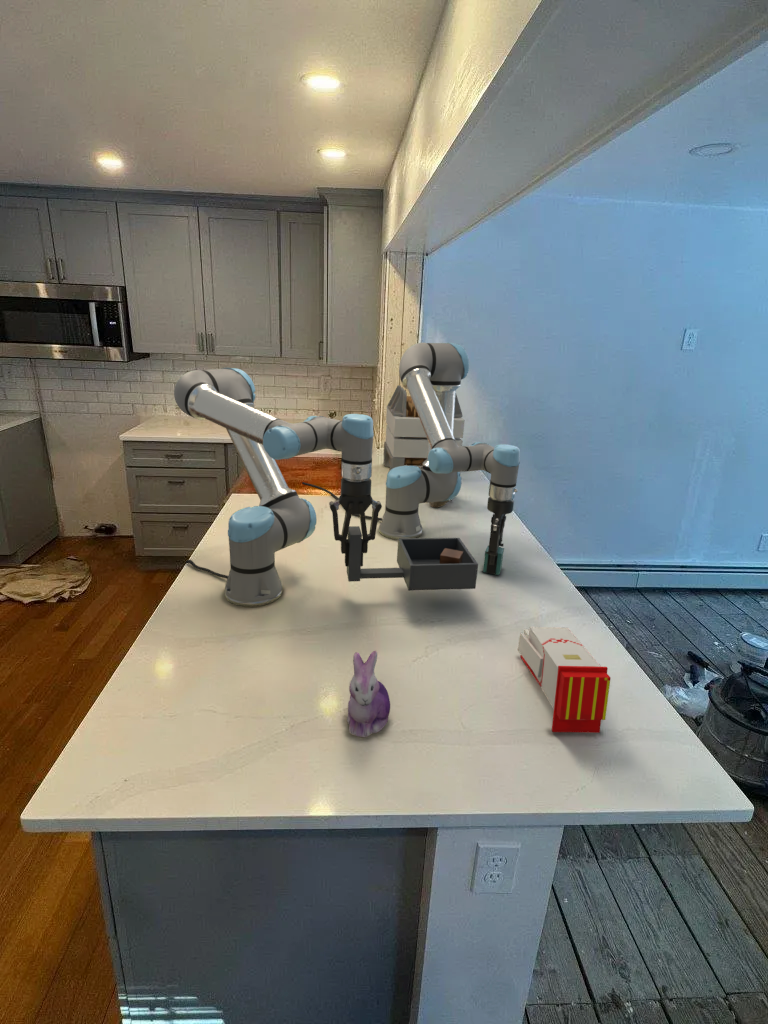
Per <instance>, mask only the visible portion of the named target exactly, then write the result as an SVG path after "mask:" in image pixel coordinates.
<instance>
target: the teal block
mask: <svg viewBox="0 0 768 1024" xmlns="http://www.w3.org/2000/svg"><path fill="white" fill-rule="evenodd" d="M488 549H489V544H487V547H486V549H485V551H484V559H483V566H482V567H483V568H482V572H483V573H486V571H487V562H488V554H486V552H487V551H488ZM504 553H505V547H502V546H499V547H498V558H497V565H496V573H495V574H494V575H497V576H499V575H500V574H501V572H502V568H503V563H504V561H503V560H504Z"/></svg>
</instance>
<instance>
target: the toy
mask: <svg viewBox="0 0 768 1024" xmlns="http://www.w3.org/2000/svg"><path fill="white" fill-rule="evenodd" d="M518 638H519V639H518V646H517V651H518V653H519V654H520V659H521V660H522V662H523V663H524V665H525V666H526V668H527V669H528V670H529V672H530V673H531V675H532V676H533V678H534V679H535V681H536V683H537V684H538V685H539V687H541V691H542V692H543V694H544V695H545V697H546V698H547V701H548V702H549V704H550V705H551V707H552V709H553V714H552V724H551V732H552V733H586V734H587V733H593V734H595V733H597V734H600V732H601V724H602V721H606V719H607V711H608V710H607V709H608V701H609V694H610V686H611V676H610V675H609V674H608V669H609V668H608V666H601V665H600V663H599V662H598V661H597V660H596V658H594V656H593V655H592V654H591V652H589V651H588V649H587V648H586V647H585V646H584V644H583V643H582V642H581V640H579V639H578V637H577V636H576V635H575V633H573V631H572V630H571V629H570V628H569V627H557V626H556V627H555V626H554V627H553V626H529V628H524V629H523V632H520V633H519V637H518Z"/></svg>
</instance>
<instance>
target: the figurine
mask: <svg viewBox="0 0 768 1024" xmlns="http://www.w3.org/2000/svg"><path fill="white" fill-rule="evenodd" d="M377 660H378V651H377V650H373V651H372V652H371V653H369V656H368V657H367V660H366V661H365V662H364V660H363V658H362V657H361V655H360V653H359V652H357V651H355V652H354V654H353V659H352V663H353V675H352V677H351V680H350V682H349V686H348V687H349V688H348V690H349V694H350V696H349V700H348V703H347V717H346V721H347V725H348V732H349V734H351V735H352V736H357V737H359V738H360V737H361V738H367V737H369V736H371V735H372V734H377V733H380V732H381V731H382V730H383V728H384V727H385V726H386V725H387V723H388V721H389V716H390V712H391V700H390V695H389V691H388V689H387V688H386V687H385V685H384V684H383V682H381V681H379V680H378V678H377V676H376V674H375V669H376V665H377Z"/></svg>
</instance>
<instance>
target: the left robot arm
mask: <svg viewBox="0 0 768 1024" xmlns="http://www.w3.org/2000/svg"><path fill="white" fill-rule="evenodd" d="M255 392H256V386H255V384H254V382H253V380H252V377H250V375H248V373H247V372H246V371H244V370H242V369H240V368H235V367H221V368H213V369H197V370H195V369H194V370H191V371H187V372H185V373H184V374H183V375H181V376H180V377H179V378H178V379H177V381H176V383H175V385H174V390H173V397H174V401H175V403H176V406H178V408H179V410H181V411H182V412H183V413H184V414H185V415H187V416H189V417H191V418H193V419H196V420H198V421H205V420H207V421H209V422H211V423H214V424H215V425H217V426H220V427H221V428H225V430H226V432H227V434H228V436H229V437H230V440H231V441H232V444H233V446H234V448H235V450H236V452H237V454H238V456H239V459H240V461H241V463H242V465H243V468H244V469H245V471H246V473H247V475H248V477H249V479H250V482H251V483H252V485H253V488H254V490H255V492H256V494H257V496H258V498H259V501H260V502H259V505H254V506H252V507H251V506H246V507H243V508H241V509H238V510H237V511H235V512H234V513H232V514H231V515H230V517H229V519H228V527H227V537H228V547H229V548H228V549H229V567H230V568H229V573H228V575H227V574H223V573H220V572H219V573H218V572H217V571H213V570H212V569H209V568H207V567H202V566H199V565H197V564H196V563H195V562H194V561H193V560H192V559H187V560H186V561H185V564H187V563H188V564H190V565H191V566H192V567H193V568H194V569H196V570H199V571H203V572H207V573H209V574H211V575H213V576H216V577H219V578H222V579H226V582H225V585H224V599H225V600H226V601H228V603H231V604H233V605H236V606H239V607H248V608H249V607H250V608H251V607H261V606H265V605H269V604H271V603H273V602H275V601H277V600H278V599H280V597H282V595H283V585H282V581H281V578H280V576H279V573H278V571H277V568H276V562H275V561H276V557H275V555H276V554H275V553H277V552H279V551H280V550H283V549H286V548H287V547H290V546H293V545H295V544H300V543H302V542H303V541H304V540H306V539H308V538H310V537H311V536H312V535H313V534H314V532H315V530H316V525H317V513H316V510H315V508H314V505H313V504H312V502H310V501H308V500H307V499H306V498H303V497H302V498H301V497H300V496H299V494H298V493H297V490H295V489H293V488H290V487H289V486H288V483H287V482H286V479H285V477H284V476H283V474H282V471H281V470H280V467H279V465H278V463H277V461H281V460H289V459H292V458H295V457H299V456H302V455H305V454H309V453H313V452H318V451H322V450H331V451H336V452H341V462H340V463H341V466H340V467H341V468H340V469H341V470H340V476H341V477H342V478H341V479H340V494H339V497H338V498H339V500H335V501H332V500H331V501H329V502H328V505H329V509H330V511H331V514H332V515H331V516H332V525H333V526H332V527H333V537H334V540H335V541H338V542H340V552H341V554H344V566H345V567H347V566H348V564H349V541H348V530H349V526H350V523H351V520H352V516H353V515H352V514H359V515H360V517H359V522H360V530H361V534H362V546H361V567H363V566H364V554H367V553H368V550H369V549H368V547H369V545H368V544H369V541H374V540H375V539H376V534H377V528H378V521H379V520H378V518H379V514H380V511H381V510H382V508H383V506H382V503H381V501H379V500H377V501H376V500H374V499H373V497H372V479H371V478H372V471H373V445H374V437H375V433H374V420H373V418H372V417H371V416H370V415H367V414H362V413H360V414H359V413H347V414H345V415H343V417H342V420H339V419H335V418H330V417H326V416H323V415H319V416H317V415H309V416H308V417H306V419H305V420H303V421H299V422H294V423H291V422H288V421H286V420H283V419H281V418H278V417H277V416H274V415H271V414H269V413H267V412H265V411H262V410H260V409H258V408H255V400H256V397H257V396H256V393H255ZM276 460H277V461H276ZM340 506H341V507H342V508H343V510H344V511H345V512H344V519H343V523H342V529H341V530H342V531H341V534H340V528H339V527H340V526H339V514H338V510H339V509H340ZM370 506H371V509H372V512H371V517H372V518H371V519H370V526H369V532H368V529H367V520H366V519H367V518H365V516H366V511H367V510H368V509H369V508H370Z"/></svg>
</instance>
